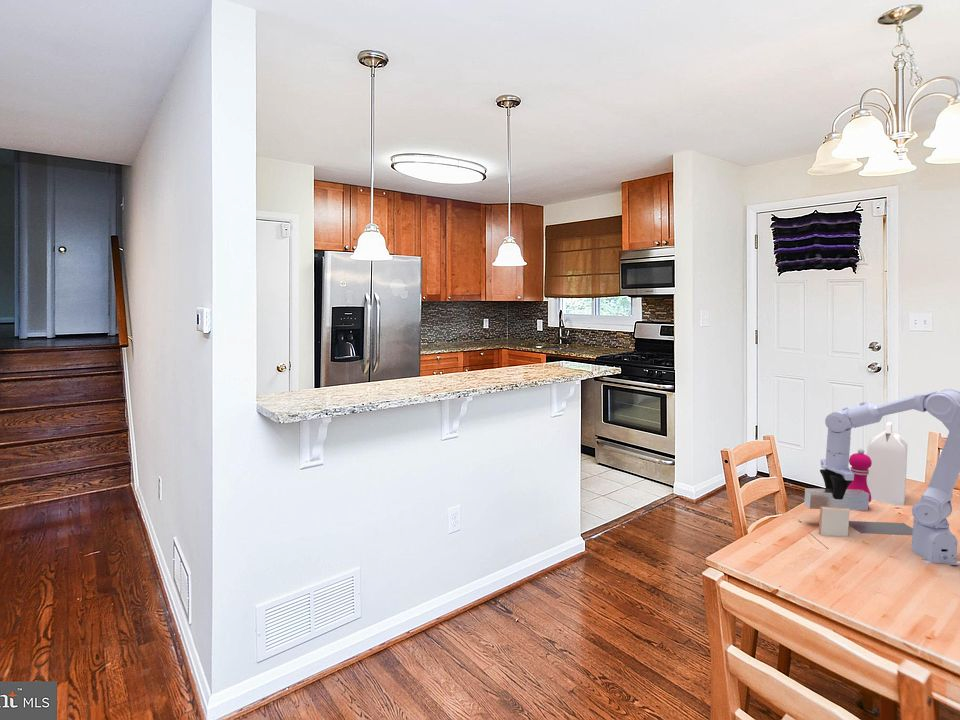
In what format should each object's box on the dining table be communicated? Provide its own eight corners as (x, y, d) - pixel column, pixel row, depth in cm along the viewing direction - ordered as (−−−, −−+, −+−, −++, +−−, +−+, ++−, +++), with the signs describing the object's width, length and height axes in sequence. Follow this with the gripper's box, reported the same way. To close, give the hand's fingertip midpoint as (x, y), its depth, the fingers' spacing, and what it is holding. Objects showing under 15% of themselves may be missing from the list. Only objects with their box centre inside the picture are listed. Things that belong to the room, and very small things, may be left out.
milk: (864, 489, 198) (869, 418, 195) (905, 497, 190) (911, 422, 188) (861, 499, 188) (866, 424, 186) (903, 507, 181) (910, 429, 178)
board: (924, 538, 157) (924, 535, 157) (860, 535, 159) (860, 533, 159) (903, 525, 166) (903, 523, 166) (843, 523, 168) (843, 520, 168)
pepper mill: (874, 514, 175) (879, 452, 173) (849, 512, 176) (853, 451, 174) (863, 506, 182) (868, 446, 180) (839, 504, 183) (843, 445, 181)
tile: (847, 537, 156) (849, 509, 156) (821, 535, 157) (823, 508, 156) (844, 534, 158) (846, 507, 157) (818, 533, 159) (820, 506, 158)
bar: (868, 510, 161) (869, 493, 161) (809, 508, 163) (810, 492, 162) (861, 506, 165) (862, 489, 164) (804, 504, 166) (805, 488, 166)
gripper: (811, 444, 170) (808, 487, 171) (836, 458, 155) (832, 504, 157) (835, 445, 169) (832, 488, 170) (863, 459, 155) (859, 505, 156)
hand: (834, 496), depth 164 cm, fingers closed on bar, 3 cm apart
